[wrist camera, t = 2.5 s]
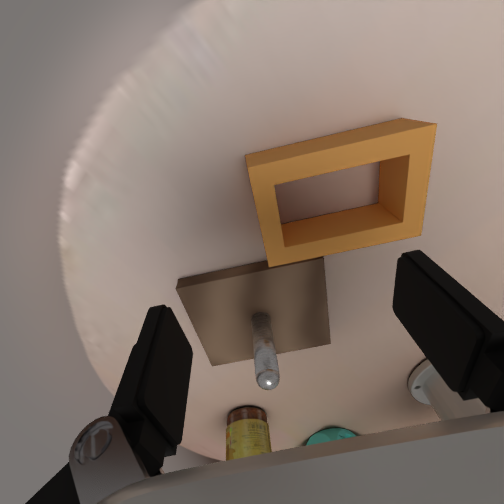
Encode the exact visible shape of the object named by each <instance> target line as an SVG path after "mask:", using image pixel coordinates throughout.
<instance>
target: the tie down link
mask: <svg viewBox="0 0 504 504" xmlns="http://www.w3.org/2000/svg"><path fill="white" fill-rule="evenodd" d="M436 128H437V124H436V123H429V122H423V121H417V120H410V119H404V118H400V119H396V120H392V121H388V122H383V123H379V124H375V125H371V126H366V127H362V128H358V129H354V130H349V131H345V132H341V133H337V134H332V135H328V136H324V137H320V138H315V139H311V140H307V141H303V142H298V143H294V144H290V145H286V146H281V147H277V148H273V149H269V150H264V151H260V152H256V153H252V154H247V155H245V158H246V163H247V169H248V173H249V178H250V182H251V187H252V192H253V196H254V201H255V205H256V210H257V215H258V219H259V224H260V228H261V233H262V238H263V242H264V247H265V251H266V256H267V260H268V265H269V267H273V266H278V265H283V264H287V263H292V262H297V261H302V260H306V259H311V258H316V257H321V256H326V255H330V254H335V253H340V252H345V251H349V250H354V249H359V248H364V247H369V246H373V245H378V244H383V243H388V242H392V241H397V240H402V239H407V238H412V237H416V236H421V232H422V225H423V218H424V211H425V204H426V197H427V190H428V183H429V176H430V170H431V163H432V156H433V149H434V142H435V135H436ZM378 161H380V172H379V195H378V203H377V204H372V205H368V206H363V207H358V208H354V209H349V210H345V211H340V212H336V213H331V214H326V215H322V216H317V217H313V218H308V219H303V220H299V221H294V222H290V223H285V224H281V223H280V217H279V211H278V205H277V199H276V194H275V188H274V185H277V184H281V183H285V182H290V181H294V180H299V179H303V178H307V177H312V176H316V175H321V174H325V173H329V172H334V171H338V170H343V169H347V168H351V167H356V166H360V165H365V164H369V163H373V162H378Z"/></svg>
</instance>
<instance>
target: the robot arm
mask: <svg viewBox="0 0 504 504" xmlns="http://www.w3.org/2000/svg"><path fill="white" fill-rule="evenodd" d="M393 311H394V313H395V315H396V316H397V318H398V319H399V320H400V322H401V323H402V324H403V326H404V327H405V328H406V330H407V331H408V333H409V334H410V335H411V337H412V338H413V339H414V341H415V342H416V344H417V345H418V346H419V348H420V349H421V350H422V352H423V353H424V354H425V356H426V357H427V360H425V361H424V362H422V363H421V364H420V365H419V366H418V367H417V368H416V369H415V370H414V371H413V372H412V374H411V376H410V378H409V381H408V389H409V391H410V392H411V394H412V396H413V397H414V398H415V399H416V400H417V401H419V402H421V403H424V404H428V405H432V407H433V408H434V410H435V411H436V413H437V415H438V416H439V418H440V419H441V421H439V422H433V423H428V424H422V425H417V426H411V427H405V428H400V429H394V430H389V431H383V432H378V433H372V434H367V435H361V436H356V437H350V438H345V439H339V440H334V441H329V442H323V443H318V444H312V445H307V446H302V447H296V448H291V449H285V450H280V451H275V452H270V453H264V454H259V455H254V456H249V457H243V458H238V459H233V460H228V461H222V462H218V463H212V464H207V465H203V466H198V467H193V468H188V469H183V470H179V471H174V472H169V473H164V471H163V470H162V468H161V467H162V466H163V461H164V457H167V456H172V455H176V449H177V445H179V444H180V443H181V441H182V435H183V427H184V420H185V412H186V404H187V396H188V389H189V381H190V373H191V365H192V358H193V352H192V348H191V345H190V344H189V342H188V340H187V338H186V336H185V334H184V332H183V330H182V328H181V326H180V324H179V323H178V321H177V319H176V317H175V315H174V313H173V311H172V309H171V308H170V307H166V306H165V305H159V306H154V307H150V308H149V310H148V312H147V315H146V318H145V321H144V324H143V327H142V329H141V332H140V335H139V338H138V341H137V343H136V344H135V345H134V346H133V348H132V351H131V354H130V356H129V359H128V362H127V365H126V367H125V370H124V373H123V376H122V378H121V381H120V384H119V387H118V389H117V392H116V395H115V398H114V401H113V403H112V406H111V409H110V412H109V414H108V416H103V417H100V418H97V419H95V420H94V421H92V422H91V423H89V424H88V425H87V426H86V427H85V428H84V429H83V430H82V431H81V432H80V433H79V435H78V436H77V438H76V439H75V441H74V443H73V445H72V447H71V450H70V453H69V462H68V464H66V465H65V466H64V467H63V468H62V469H61V470H60V471H59V472H58V473H57V474H56V475H55V476H54V477H53V478H52V479H51V480H50V481H49V482H47V483H46V484H45V485H44V486H43V487H42V488H41V489H40V490H39V491H38V492H37V493H36V494H35V495H34V496H33V497H32V498H31V499H30V500H29V501H28V502H27V503H25V504H504V321H503V320H502V319H500V318H499V317H498V316H497V315H496V314H495V313H493V312H492V311H491V310H490V309H489V308H488V307H486V306H485V305H484V304H483V303H482V302H481V301H479V300H478V299H477V298H476V297H475V296H474V295H472V294H471V293H470V292H469V291H468V290H467V289H465V288H464V287H463V286H462V285H461V284H459V283H458V282H457V281H456V280H455V279H454V278H452V277H451V276H450V275H449V274H448V273H447V272H445V271H444V270H443V269H442V268H441V267H440V266H438V265H437V264H436V263H435V262H434V261H433V260H431V259H430V258H429V257H428V256H427V255H425V254H424V253H423V252H422V251H420V250H415V251H410V252H406V253H403V254H402V255H401V257H400V258H398V260H397V269H396V278H395V287H394V296H393Z"/></svg>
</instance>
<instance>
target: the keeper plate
mask: <svg viewBox="0 0 504 504" xmlns="http://www.w3.org/2000/svg"><path fill="white" fill-rule="evenodd" d="M176 291H177V293H178V295H179V297H180V299H181V301H182V303H183V305H184V308H185V310H186V312H187V314H188V316H189V318H190V320H191V322H192V325H193V327H194V329H195V331H196V333H197V335H198V337H199V339H200V341H201V344H202V346H203V348H204V350H205V352H206V354H207V356H208V358H209V361H210V363H211V365H212V366H216V365H222V364H227V363H232V362H238V361H243V360H248V359H253V358H254V361H255V374H256V381H257V383H258V385H259V386H260V387H261V388H262V389H265V390H272V389H274V388H275V387H276V386H277V385H278V383H279V380H280V374H279V368H278V362H277V356H276V354H280V353H285V352H290V351H296V350H301V349H306V348H311V347H317V346H322V345H327V344H331V342H330V330H329V318H328V305H327V293H326V281H325V269H324V258H323V256H321V257H316V258H311V259H306V260H302V261H297V262H292V263H287V264H283V265H278V266H273V267H269V265H268V261H263V262H258V263H253V264H249V265H244V266H239V267H234V268H230V269H225V270H220V271H215V272H211V273H206V274H201V275H196V276H192V277H187V278H182V279H178V283H177V286H176Z"/></svg>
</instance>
